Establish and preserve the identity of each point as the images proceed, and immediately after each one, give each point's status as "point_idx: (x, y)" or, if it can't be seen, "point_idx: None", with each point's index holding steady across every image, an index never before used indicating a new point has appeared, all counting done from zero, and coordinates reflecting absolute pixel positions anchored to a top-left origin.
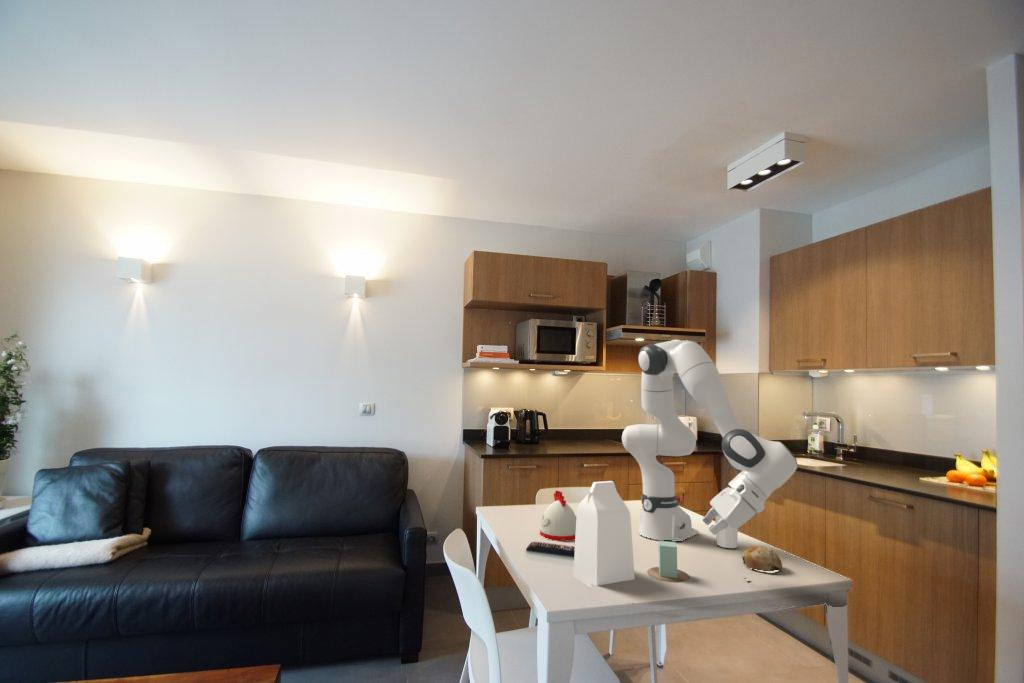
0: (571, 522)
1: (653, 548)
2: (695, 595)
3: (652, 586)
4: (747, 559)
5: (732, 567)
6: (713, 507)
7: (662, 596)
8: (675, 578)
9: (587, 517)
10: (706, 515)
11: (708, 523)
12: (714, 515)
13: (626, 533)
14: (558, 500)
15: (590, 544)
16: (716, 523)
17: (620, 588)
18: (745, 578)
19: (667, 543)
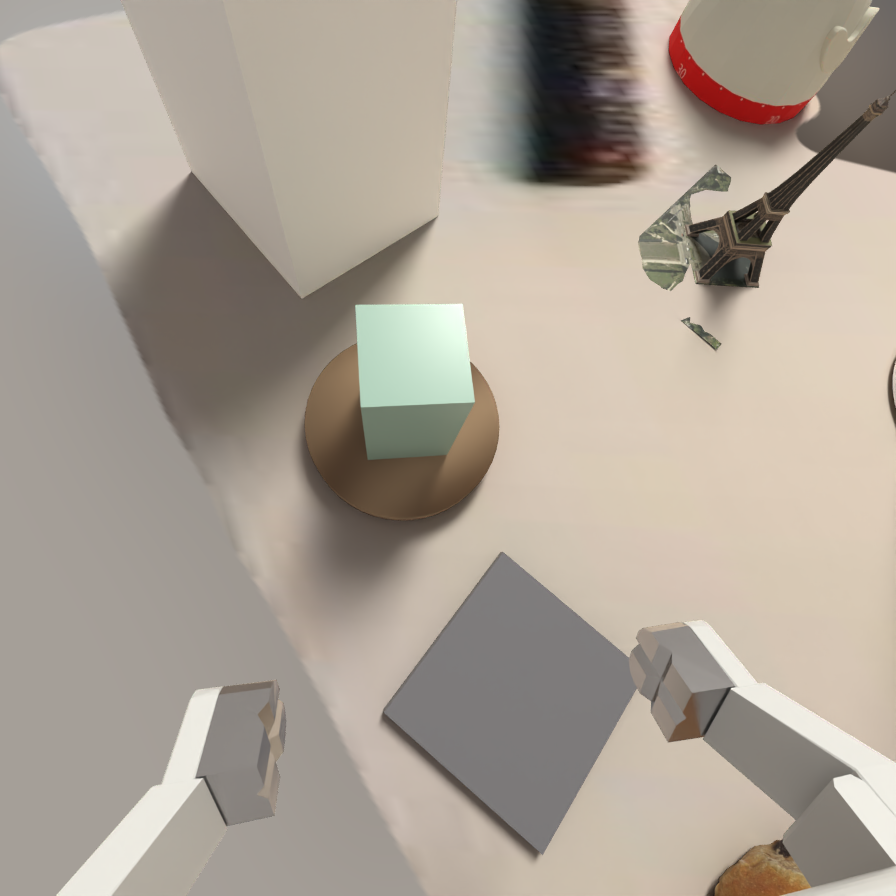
0: (767, 25)
1: (778, 385)
2: (251, 538)
3: (307, 363)
4: (771, 888)
5: (708, 761)
6: (833, 893)
7: (203, 397)
8: (361, 451)
9: None
10: (743, 684)
11: (643, 686)
12: (804, 811)
13: (208, 24)
14: None
15: None
16: (123, 848)
17: (249, 247)
18: (537, 828)
19: (425, 353)
